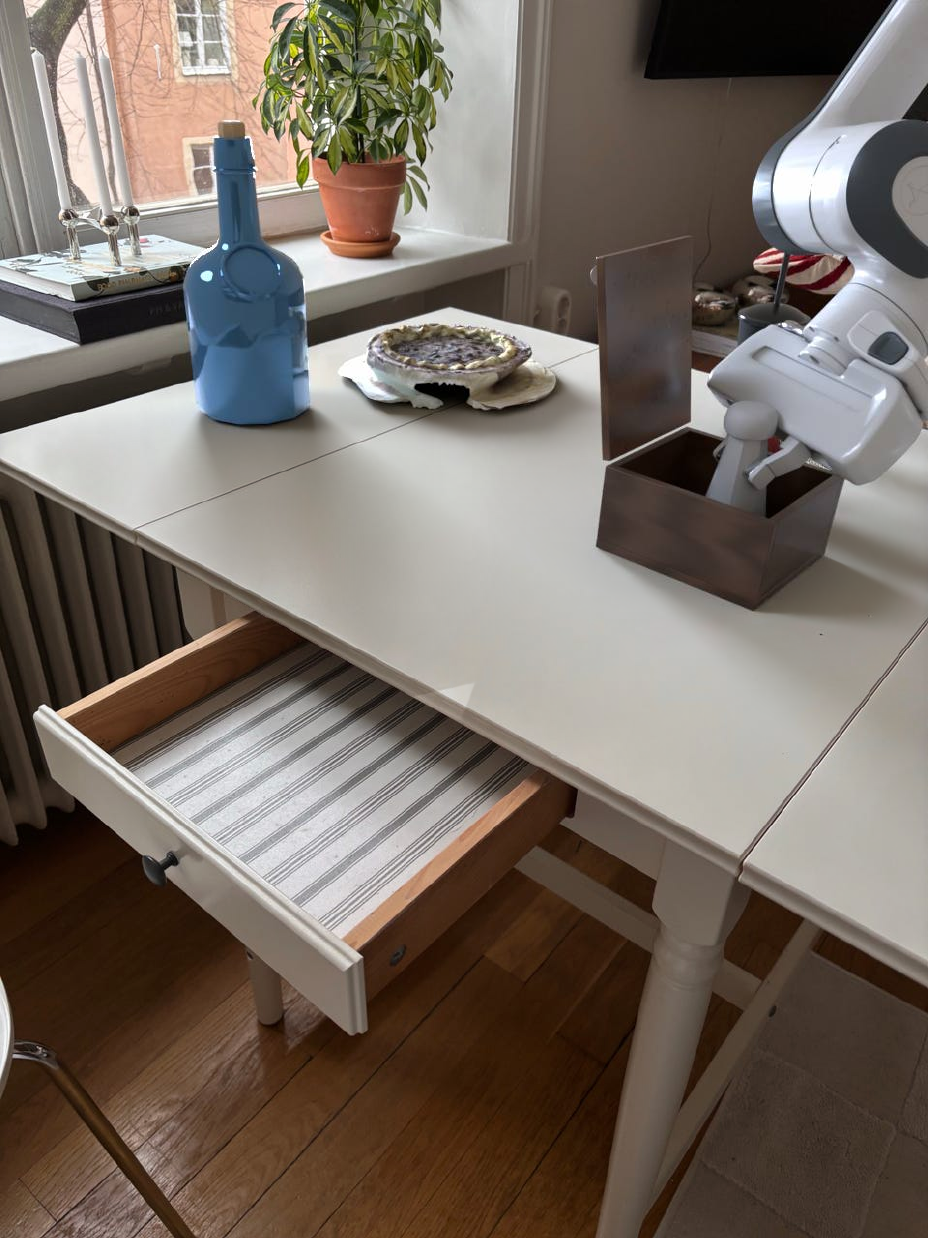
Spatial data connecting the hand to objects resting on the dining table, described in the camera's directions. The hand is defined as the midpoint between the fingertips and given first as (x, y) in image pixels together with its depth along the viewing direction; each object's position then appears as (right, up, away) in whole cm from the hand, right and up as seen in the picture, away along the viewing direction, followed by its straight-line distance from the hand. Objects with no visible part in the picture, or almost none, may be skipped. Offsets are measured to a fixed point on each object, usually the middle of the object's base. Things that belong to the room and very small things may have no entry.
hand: (734, 472), depth 81 cm
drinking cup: (+10, +9, +30) cm, 33 cm away
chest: (-1, -6, +5) cm, 8 cm away
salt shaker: (0, -6, +4) cm, 7 cm away
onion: (+6, 0, +15) cm, 16 cm away
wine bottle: (-47, +12, +31) cm, 58 cm away
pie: (-25, +19, +43) cm, 53 cm away
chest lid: (-7, +11, +1) cm, 13 cm away
